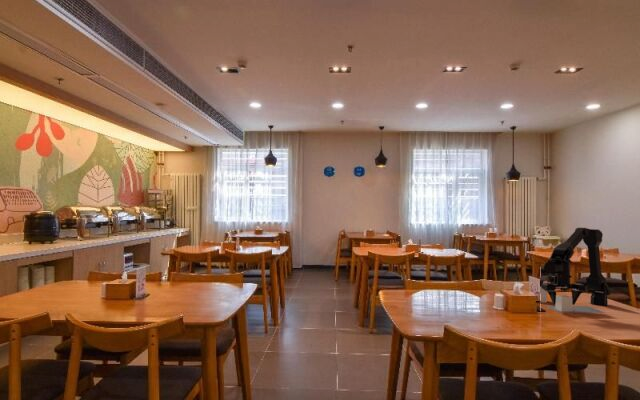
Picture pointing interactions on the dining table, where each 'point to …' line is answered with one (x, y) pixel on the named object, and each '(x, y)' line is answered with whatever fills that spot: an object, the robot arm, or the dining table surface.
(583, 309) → the board
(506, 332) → the dining table surface
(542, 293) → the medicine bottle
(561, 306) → the white rectangular block
